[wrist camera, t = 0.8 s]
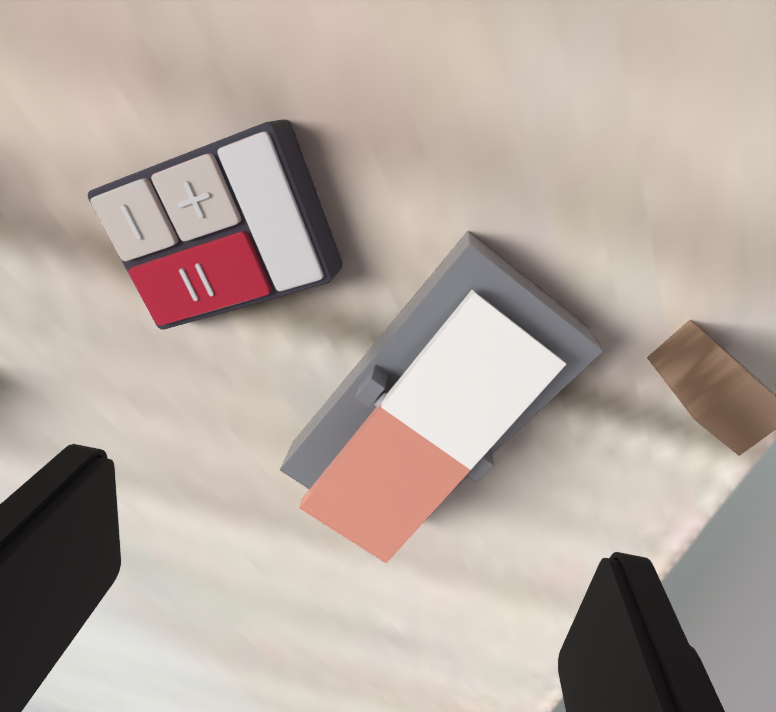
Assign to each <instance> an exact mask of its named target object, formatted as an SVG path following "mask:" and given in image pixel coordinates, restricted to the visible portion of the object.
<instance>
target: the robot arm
mask: <svg viewBox="0 0 776 712" xmlns="http://www.w3.org/2000/svg"><path fill="white" fill-rule="evenodd" d="M120 566H121V553H120V539H119V525H118V511H117V496H116V482H115V468H114V462H113V461H112V460H111V459H108V458H107V454H106V452H105V451H104V450H101V449H96V448H91V447H86V446H81V445H76V444H72V445H69V446H67V447H66V448H64V449H63V450H62V451H61V452H60V453H59V454H58V455H56V456H55V457H54V458H53V459H52V460H51V461H50V462H48V463H47V464H46V465H45V466H44V467H43V468H42V469H40V470H39V471H38V472H37V473H36V474H35V475H33V476H32V477H31V478H30V479H29V480H28V481H27V482H25V483H24V484H23V485H22V486H21V487H20V488H19V489H17V490H16V491H15V492H14V493H13V494H12V495H10V496H9V497H8V498H7V499H6V500H5V501H4V502H2V503H1V504H0V712H22V710H23V709H24V707H25V706H26V705H27V703H28V702H29V700H30V699H31V698H32V696H33V695H34V693H35V692H36V691H37V689H38V688H39V686H40V685H41V684H42V682H43V681H44V679H45V678H46V677H47V675H48V674H49V672H50V671H51V670H52V668H53V667H54V665H55V664H56V663H57V661H58V660H59V658H60V657H61V656H62V654H63V653H64V651H65V650H66V649H67V647H68V646H69V644H70V643H71V642H72V640H73V639H74V637H75V636H76V635H77V633H78V632H79V630H80V629H81V628H82V626H83V625H84V623H85V622H86V621H87V619H88V618H89V616H90V615H91V614H92V612H93V611H94V609H95V608H96V607H97V605H98V604H99V602H100V601H101V600H102V598H103V597H104V595H105V594H106V593H107V591H108V590H109V588H110V587H111V586H112V584H113V583H114V581H115V580H116V578H117V576H118V573H119V570H120ZM558 672H559V678H560V683H561V688H562V693H563V698H564V703H565V708H566V712H725V711H724V709H723V707H722V705H721V703H720V700H719V698H718V696H717V694H716V692H715V689H714V687H713V685H712V683H711V681H710V679H709V676H708V674H707V672H706V670H705V668H704V666H703V663H702V661H701V659H700V657H699V656H698V654H697V652H696V651H695V649H694V648H693V647H691V646H690V645H689V643H688V641H687V639H686V636H685V634H684V632H683V630H682V628H681V626H680V623H679V621H678V619H677V617H676V614H675V612H674V610H673V608H672V606H671V603H670V601H669V599H668V597H667V595H666V593H665V590H664V588H663V586H662V584H661V581H660V579H659V577H658V575H657V573H656V570H655V568H654V566H653V564H652V562H651V561H650V560H649V559H648V558H645V557H640V556H635V555H630V554H625V553H620V552H615V553H613V554H612V555H611V557H610V558H603V559H602V560H601V561H600V563H599V565H598V567H597V570H596V572H595V574H594V576H593V579H592V581H591V583H590V585H589V588H588V590H587V592H586V594H585V597H584V599H583V601H582V603H581V605H580V608H579V610H578V612H577V614H576V617H575V619H574V621H573V623H572V626H571V628H570V630H569V632H568V634H567V637H566V639H565V641H564V643H563V646H562V648H561V650H560V653H559V658H558Z"/></svg>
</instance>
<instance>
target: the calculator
mask: <svg viewBox="0 0 776 712" xmlns="http://www.w3.org/2000/svg"><path fill="white" fill-rule="evenodd" d="M88 199H89V201H90V203H91V205H92V206H93V208H94V210H95V212H96V214H97V216H98V218H99V219H100V221H101V223H102V225H103V227H104V229H105V231H106V232H107V234H108V236H109V238H110V240H111V242H112V244H113V245H114V247H115V249H116V251H117V253H118V255H119V257H120V258H121V260H122V262H123V264H124V266H125V268H126V270H127V271H128V273H129V275H130V277H131V279H132V281H133V283H134V284H135V286H136V288H137V290H138V292H139V294H140V296H141V297H142V299H143V301H144V303H145V305H146V307H147V309H148V310H149V312H150V314H151V316H152V318H153V320H154V322H155V323H156V325H157V327H158V328H160V329H168V328H171V327H175V326H178V325H182V324H185V323H189V322H192V321H196V320H200V319H203V318H207V317H210V316H214V315H217V314H221V313H224V312H228V311H231V310H235V309H238V308H242V307H245V306H249V305H252V304H256V303H259V302H263V301H266V300H270V299H273V298H277V297H280V296H284V295H288V294H291V293H295V292H298V291H302V290H305V289H309V288H312V287H316V286H319V285H323V284H326V283H329V282H330V281H331V280H332V279H333V278H334V276H335V275H336V274H337V272H338V271H339V270H340V269H341V267H342V261H341V258H340V255H339V252H338V250H337V247H336V244H335V242H334V239H333V236H332V233H331V231H330V228H329V225H328V223H327V220H326V217H325V215H324V212H323V209H322V207H321V204H320V201H319V198H318V196H317V193H316V190H315V188H314V185H313V182H312V180H311V177H310V174H309V171H308V169H307V166H306V163H305V161H304V158H303V155H302V153H301V150H300V147H299V144H298V142H297V139H296V136H295V134H294V131H293V128H292V126H291V124H290V122H289V121H287V120H277V121H271V122H266V123H263V124H260V125H257V126H255V127H252V128H250V129H247V130H245V131H242V132H239V133H237V134H234V135H232V136H229V137H227V138H224V139H222V140H219V141H216V142H214V143H211V144H209V145H206V146H204V147H201V148H198V149H196V150H193V151H191V152H188V153H186V154H183V155H180V156H178V157H175V158H173V159H170V160H168V161H165V162H162V163H160V164H157V165H155V166H152V167H150V168H147V169H144V170H142V171H139V172H137V173H134V174H132V175H129V176H126V177H124V178H121V179H119V180H116V181H114V182H111V183H108V184H106V185H103V186H101V187H98V188H96V189H93V190H91V191H89V192H88Z"/></svg>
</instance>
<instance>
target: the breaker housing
mask: <svg viewBox="0 0 776 712" xmlns="http://www.w3.org/2000/svg"><path fill="white" fill-rule="evenodd" d="M471 290H473V291H475V292H476V293H477V294H478V295H480V296H481V297H482V298H484V299H485V300H486V301H487V302H489V303H490V304H491V305H493V306H494V307H495V308H496V309H498V310H499V311H500V312H502V313H503V314H504V315H505V316H507V317H508V318H509V319H511V320H512V321H513V322H514V323H516V324H517V325H518V326H520V327H521V328H522V329H523V330H525V331H526V332H527V333H529V334H530V335H531V336H532V337H534V338H535V339H536V340H538V341H539V342H540V343H541V344H543V345H544V346H545V347H547V348H548V349H549V350H550V351H552V352H553V353H554V354H556V355H557V356H558V357H559V358H561V359H562V360H563V361H564V362H565V363H566V365H565V366H564V367H563V369H562V370H561V371H560V372H559V373H558V374H557V375H556V376H555V377H554V378H553V380H552V381H551V382H550V383H549V384H548V385H547V386H546V387H545V388H544V390H543V391H542V392H541V393H540V394H539V395H538V396H537V397H536V398H535V399H534V401H533V402H532V403H531V404H530V405H529V406H528V407H527V408H526V409H525V411H524V412H523V413H522V414H521V415H520V416H519V417H518V418H517V419H516V421H515V422H514V423H513V424H512V425H511V426H510V427H509V428H508V429H507V430H506V432H505V433H504V434H503V435H502V436H501V437H500V438H499V439H498V440H497V442H496V443H495V444H494V445H493V446H492V447H491V448H490V449H489V450H488V451H487V453H486V454H485V455H484V456H483V457H482V458H481V459H480V460H479V461H478V463H477V464H476V465H475V466H474V467H473V468H472V469H471V470H470V471H469V473H468V474H467V475H466V476H465V477H464V478H463V479H462V480H461V481H460V482H459V484H460V483H462V482H463V481H464V480H465V479H466V478H467V477H469V478H471V479H472V480H474V481H475V482H476V481H477V480H478V479H480V478H481V477H482V476H483V475H484V474H485V473H486V472H487V471H488V470H489V469H490V468H492V467H493V466H494V464H493V455H492V454H493V453H494V452H495V451H496V450H497V449H498V448H499V447H500V446H501V445H503V444H504V443H505V442H506V441H507V440H508V439H509V438H510V437H511V436H512V435H513V434H514V433H516V432H517V431H518V430H519V429H520V428H521V427H522V426H523V425H524V424H525V423H526V422H527V421H528V420H530V419H531V418H532V417H533V416H534V415H535V414H536V413H537V412H538V411H539V410H540V409H541V408H543V407H544V406H545V405H546V404H547V403H548V402H549V401H550V400H551V399H552V398H553V397H554V396H555V395H557V394H558V393H559V392H560V391H561V390H562V389H563V388H564V387H565V386H566V385H567V384H568V383H570V382H571V381H572V380H573V379H574V378H575V377H576V376H577V375H578V374H579V373H580V372H581V371H582V370H584V369H585V368H586V367H587V366H588V365H589V364H590V363H591V362H592V361H593V360H594V359H595V358H597V357H598V356H599V355H600V354H601V353H602V352H603V350H602V348H601V347H600V345H599V343H598V342H597V340H596V338H595V337H594V335H593V333H592V332H591V330H590V329H589V328H588V327H587V326H585V325H584V324H583V323H582V322H580V321H579V320H578V319H577V318H575V317H574V316H573V315H572V314H570V313H569V312H568V311H567V310H565V309H564V308H563V307H562V306H561V305H559V304H558V303H557V302H556V301H554V300H553V299H552V298H551V297H549V296H548V295H547V294H546V293H544V292H543V291H542V290H541V289H539V288H538V287H537V286H536V285H534V284H533V283H532V282H531V281H529V280H528V279H527V278H526V277H524V276H523V275H522V274H521V273H519V272H518V271H517V270H516V269H514V268H513V267H512V266H511V265H509V264H508V263H507V262H506V261H504V260H503V259H502V258H501V257H499V256H498V255H497V254H496V253H495V252H493V251H492V250H491V249H490V248H488V247H487V246H486V245H485V244H483V243H482V242H481V241H480V240H478V239H477V238H476V237H475V236H473V235H472V234H471V233H470V232H468V231H467V232H466V234H465V235H464V236H463V237H462V238H461V240H460V241H459V242H458V243H457V245H456V246H455V247H454V248H453V249H452V251H451V252H450V253H449V254H448V255H447V257H446V258H445V259H444V260H443V261H442V263H441V264H440V265H439V266H438V267H437V269H436V270H435V271H434V272H433V274H432V275H431V276H430V277H429V278H428V280H427V281H426V282H425V283H424V284H423V286H422V287H421V288H420V289H419V290H418V292H417V293H416V294H415V295H414V296H413V298H412V299H411V300H410V301H409V303H408V304H407V305H406V306H405V307H404V309H403V310H402V311H401V312H400V313H399V315H398V316H397V317H396V318H395V319H394V321H393V322H392V323H391V324H390V325H389V327H388V328H387V329H386V330H385V332H384V333H383V334H382V335H381V336H380V338H379V339H378V340H377V341H376V342H375V344H374V345H373V346H372V347H371V348H370V350H369V351H368V352H367V353H366V354H365V356H364V357H363V358H362V359H361V361H360V362H359V363H358V364H357V365H356V367H355V368H354V369H353V370H352V371H351V373H350V374H349V375H348V376H347V377H346V379H345V380H344V381H343V382H342V383H341V385H340V386H339V387H338V388H337V390H336V391H335V392H334V393H333V394H332V396H331V397H330V398H329V399H328V400H327V402H326V403H325V404H324V405H323V406H322V408H321V409H320V410H319V411H318V412H317V414H316V415H315V416H314V417H313V419H312V420H311V421H310V422H309V423H308V425H307V426H306V427H305V428H304V429H303V431H302V432H301V433H300V434H299V435H298V437H297V438H296V439H295V440H294V441H293V443H292V445H291V447H290V449H289V451H288V454H287V456H286V458H285V460H284V462H283V464H282V466H281V469H280V471H282V472H283V473H285V474H287V475H288V476H290V477H291V478H293V479H294V480H296V481H297V482H299V483H300V484H302V485H304V486H305V487H307V488H308V489H310V488H311V487H312V486H313V485H314V483H315V482H316V481H317V480H318V478H319V477H320V476H321V475H322V473H323V472H324V471H325V470H326V469H327V467H328V466H329V465H330V464H331V462H332V461H333V460H334V459H335V457H336V456H337V455H338V454H339V452H340V451H341V450H342V449H343V448H344V446H345V445H346V444H347V443H348V441H349V440H350V439H351V438H352V436H353V435H354V434H355V433H356V432H357V430H358V429H359V428H360V427H361V425H362V424H363V423H364V422H365V420H366V419H367V418H368V417H369V416H370V414H371V413H372V412H373V411H374V409H375V408H376V406H375V405H374V403H375V401H376V399H377V398H378V396H379V395H380V394H381V393H382V392H383V391H384V392H386V393H388V392H389V391H390V390H391V388H392V387H393V386H394V385H395V384H396V382H397V381H398V380H399V379H400V377H401V376H402V375H403V374H404V372H405V371H406V370H407V369H408V368H409V366H410V365H411V364H412V363H413V361H414V360H415V359H416V358H417V356H418V355H419V354H420V353H421V351H422V350H423V349H424V348H425V347H426V345H427V344H428V343H429V342H430V340H431V339H432V338H433V337H434V335H435V334H436V333H437V332H438V331H439V329H440V328H441V327H442V326H443V324H444V323H445V322H446V321H447V319H448V318H449V317H450V316H451V315H452V313H453V312H454V311H455V310H456V308H457V307H458V306H459V305H460V303H461V302H462V301H463V300H464V299H465V297H466V296H467V295H468V294H469V292H470V291H471ZM459 484H458V485H459ZM458 485H457V486H458ZM457 486H456V487H457ZM456 487H455V488H456ZM455 488H454V489H455ZM454 489H453V490H454ZM453 490H452V491H453ZM452 491H451V492H452ZM451 492H450V493H451Z"/></svg>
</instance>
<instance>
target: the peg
mask: <svg viewBox="0 0 776 712" xmlns="http://www.w3.org/2000/svg"><path fill="white" fill-rule="evenodd" d="M647 358H648V360H649V361H650V362H651V364H652V365H653V366H654V368H655V369H656V370H657V371H658V373H659V374H660V375H661V377H662V378H663V379H664V381H665V382H666V383H667V384H668V386H669V387H670V388H671V390H672V391H673V392H674V394H675V395H676V396H677V398H678V399H679V400H680V401H681V403H682V404H683V405H684V407H685V408H686V409H687V411H688V412H689V413H690V415H691V416H692V417H693V418H694V420H695V421H696V422H698V423H699V424H700V425H701V426H703V427H704V428H705V429H706V430H708V431H709V432H710V433H711V434H713V435H714V436H715V437H716V438H718V439H719V440H720V441H721V442H723V443H724V444H725V445H726V446H728V447H729V448H730V449H731V450H733V451H734V452H735V453H736V454H738V455H739V456H740V455H741V454H742V453H744V452H745V451H747V450H748V449H749V448H751V447H752V446H754V445H755V444H756V443H758V442H759V441H760V440H762V439H763V438H765V437H766V436H767V435H769V434H770V433H772V432H773V431H774V430H776V395H775V394H774V393H772V392H771V391H770V390H769V389H768V388H767V387H766V386H765V385H764V384H762V383H761V382H760V381H759V380H758V379H757V378H756V377H755V376H754V375H753V374H751V373H750V372H749V371H748V370H747V369H746V368H745V367H744V366H743V365H741V364H740V363H739V362H738V361H737V360H736V359H735V358H734V357H733V356H732V355H730V354H729V353H728V352H727V351H726V350H725V349H724V348H722V347H721V346H720V345H719V344H718V343H717V342H715V341H714V340H713V339H712V338H711V337H709V336H708V335H707V334H706V333H705V332H704V331H702V330H701V329H700V328H699V327H698V326H696V325H695V324H694V323H693V322H692V321H691V320H689V321H688V322H687V323H686V324H685V325H684V326H682V327H681V328H680V329H679V330H678V331H677V332H676V333H674V334H673V335H672V336H671V337H670V338H669V339H668V340H666V341H665V342H664V343H663V344H662V345H661V346H660V347H659V348H657V349H656V350H655V351H654V352H653V353H652V354H651V355H649V356H648V357H647Z"/></svg>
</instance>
